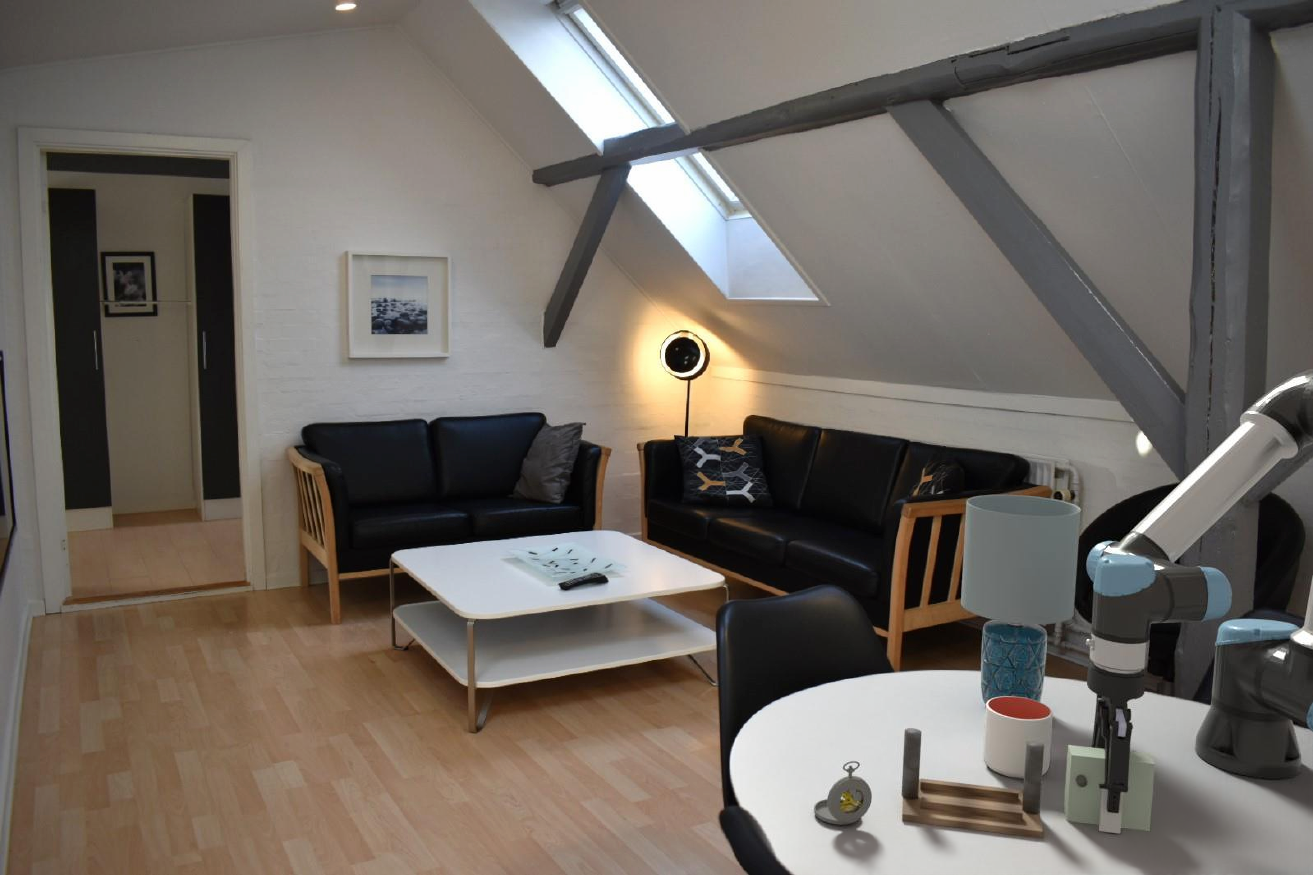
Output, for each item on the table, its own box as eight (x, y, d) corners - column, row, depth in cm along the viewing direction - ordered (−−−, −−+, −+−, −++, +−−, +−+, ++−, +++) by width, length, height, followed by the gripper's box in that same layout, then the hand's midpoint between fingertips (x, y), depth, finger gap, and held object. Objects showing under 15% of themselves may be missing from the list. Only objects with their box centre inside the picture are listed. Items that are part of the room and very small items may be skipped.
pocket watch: (828, 800, 158) (831, 736, 157) (879, 818, 153) (882, 752, 151) (799, 821, 152) (801, 754, 150) (851, 840, 146) (854, 771, 145)
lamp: (970, 727, 185) (982, 514, 180) (944, 686, 204) (955, 493, 199) (1082, 730, 184) (1097, 517, 179) (1046, 689, 204) (1059, 495, 198)
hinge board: (1034, 798, 159) (1039, 728, 158) (1043, 838, 148) (1048, 763, 146) (901, 783, 164) (905, 714, 162) (900, 820, 152) (904, 747, 151)
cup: (1053, 784, 164) (1057, 722, 163) (985, 778, 166) (989, 716, 165) (1043, 757, 174) (1047, 698, 172) (979, 751, 176) (983, 693, 174)
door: (1144, 819, 154) (1149, 753, 152) (1150, 834, 149) (1156, 766, 148) (1063, 809, 156) (1068, 744, 155) (1067, 824, 152) (1072, 757, 151)
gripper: (1078, 640, 160) (1067, 784, 164) (1100, 686, 141) (1087, 848, 144) (1132, 645, 159) (1120, 790, 162) (1161, 692, 140) (1147, 856, 143)
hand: (1104, 817), depth 153 cm, fingers open, 7 cm apart
